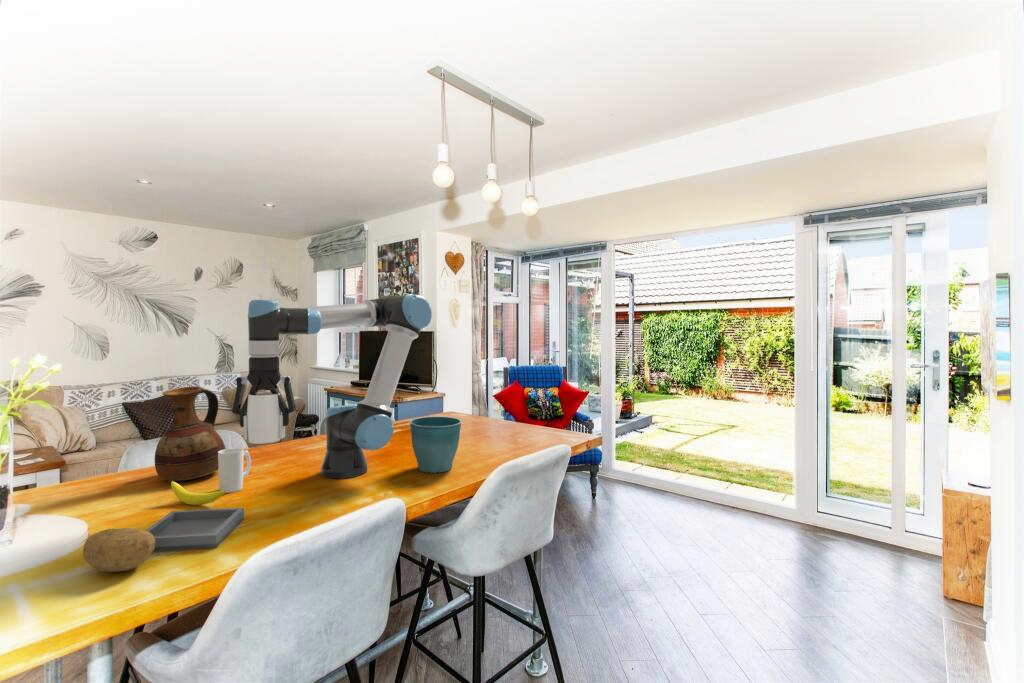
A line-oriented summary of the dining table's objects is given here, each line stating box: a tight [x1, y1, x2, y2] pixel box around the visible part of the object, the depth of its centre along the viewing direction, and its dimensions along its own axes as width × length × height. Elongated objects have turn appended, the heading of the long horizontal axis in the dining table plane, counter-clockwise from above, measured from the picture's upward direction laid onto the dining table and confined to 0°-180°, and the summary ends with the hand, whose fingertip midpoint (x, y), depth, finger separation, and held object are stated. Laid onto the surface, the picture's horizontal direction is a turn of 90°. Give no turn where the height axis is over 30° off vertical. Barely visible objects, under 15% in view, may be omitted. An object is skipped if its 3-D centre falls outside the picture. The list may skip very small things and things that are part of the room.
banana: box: [169, 480, 226, 506], centre depth 138 cm, size 3×19×6 cm, turn 75°
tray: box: [144, 507, 245, 553], centre depth 119 cm, size 17×17×3 cm
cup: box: [247, 391, 282, 445], centre depth 136 cm, size 8×8×14 cm
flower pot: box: [409, 416, 462, 474], centre depth 175 cm, size 18×18×17 cm
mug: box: [218, 447, 252, 494], centre depth 152 cm, size 10×7×12 cm, turn 155°
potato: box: [82, 527, 155, 573], centre depth 102 cm, size 10×14×8 cm
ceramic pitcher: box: [154, 385, 227, 482], centre depth 164 cm, size 20×20×30 cm
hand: (264, 438), depth 137 cm, fingers closed on cup, 8 cm apart
